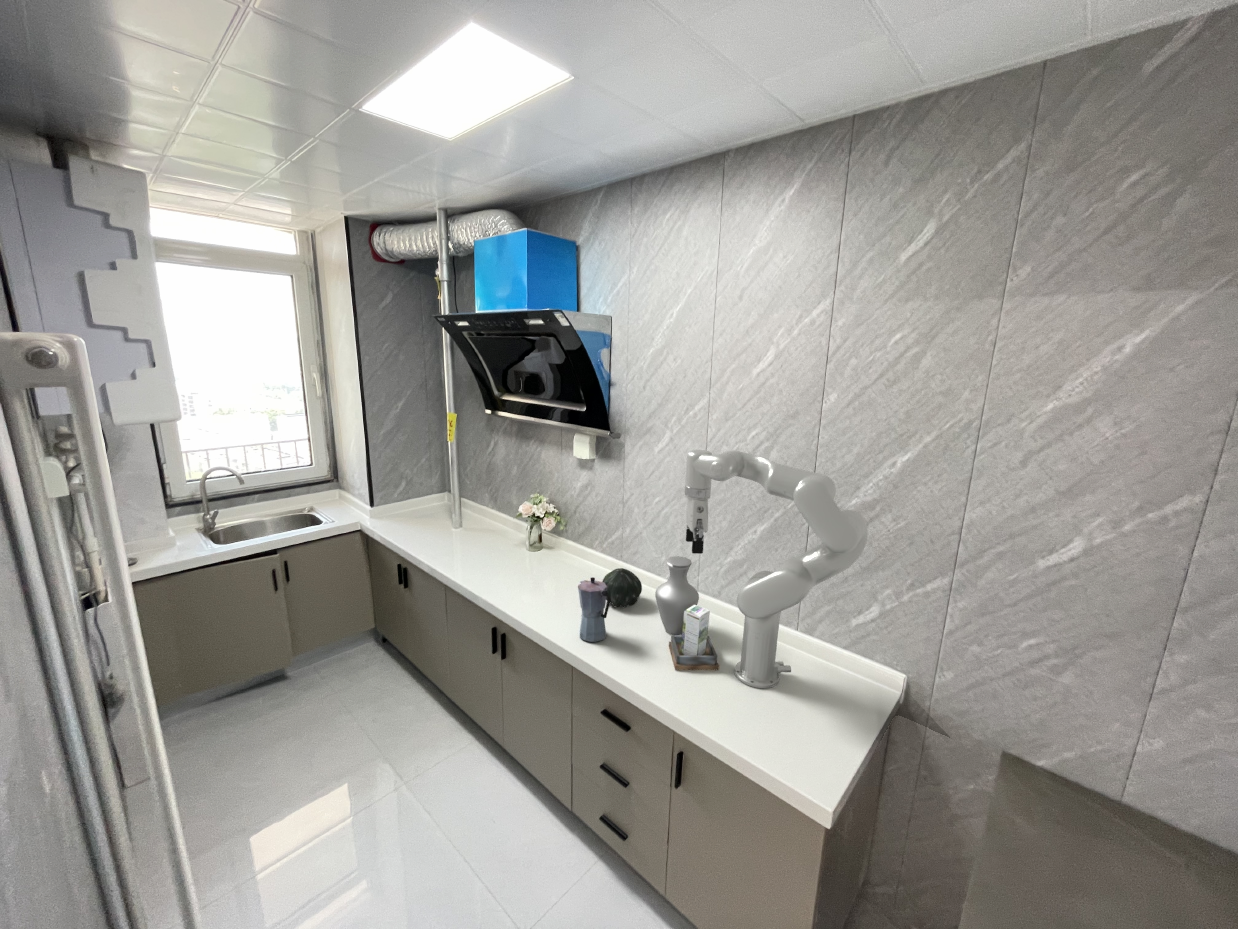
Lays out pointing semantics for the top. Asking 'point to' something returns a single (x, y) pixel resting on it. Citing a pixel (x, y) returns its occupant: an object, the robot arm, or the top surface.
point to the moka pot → (593, 609)
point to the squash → (622, 587)
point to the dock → (692, 662)
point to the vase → (676, 595)
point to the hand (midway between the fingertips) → (693, 547)
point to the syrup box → (695, 631)
